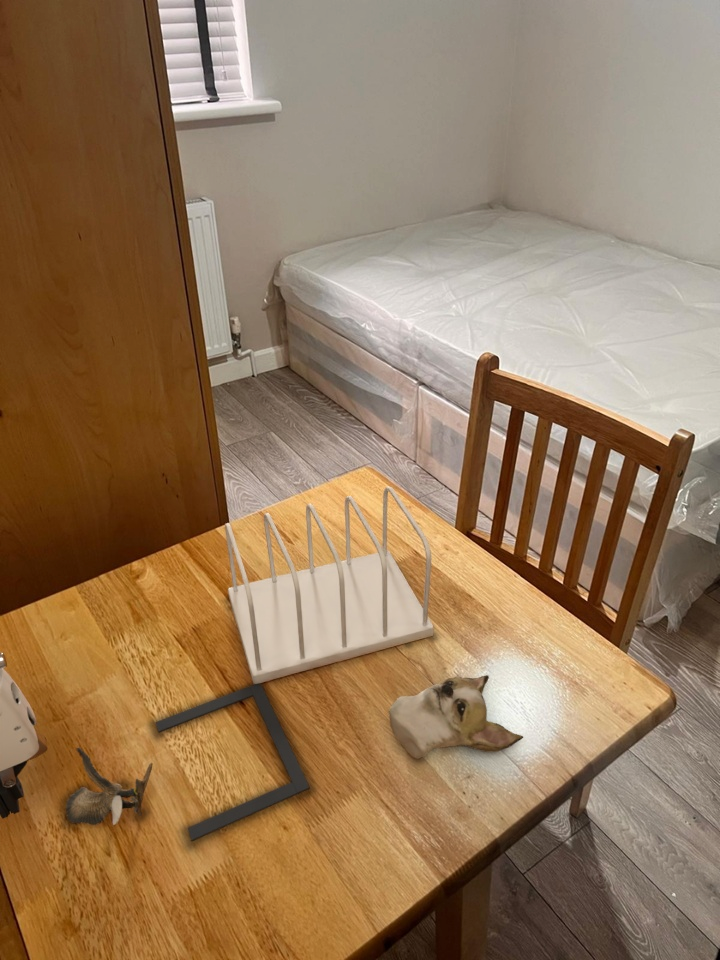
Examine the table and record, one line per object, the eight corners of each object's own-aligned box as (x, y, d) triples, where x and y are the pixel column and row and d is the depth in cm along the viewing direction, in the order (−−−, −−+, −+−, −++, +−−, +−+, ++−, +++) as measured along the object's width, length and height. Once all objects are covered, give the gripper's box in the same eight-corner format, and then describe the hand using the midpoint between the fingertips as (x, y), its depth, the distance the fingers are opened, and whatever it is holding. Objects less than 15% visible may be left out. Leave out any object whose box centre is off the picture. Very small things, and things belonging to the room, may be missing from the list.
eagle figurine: (161, 762, 83) (85, 744, 84) (147, 763, 77) (64, 743, 77) (139, 835, 81) (61, 816, 81) (123, 842, 74) (37, 821, 74)
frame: (191, 841, 77) (191, 840, 77) (155, 723, 89) (155, 722, 89) (309, 788, 82) (309, 787, 81) (260, 683, 94) (260, 681, 94)
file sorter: (253, 686, 93) (239, 596, 84) (228, 598, 107) (214, 512, 98) (434, 636, 99) (438, 547, 91) (388, 559, 113) (388, 475, 104)
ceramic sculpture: (375, 665, 84) (492, 639, 88) (371, 713, 89) (482, 687, 93) (407, 741, 76) (534, 709, 80) (401, 789, 81) (521, 757, 85)
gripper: (29, 626, 69) (80, 745, 79) (-151, 686, 64) (-71, 804, 74) (38, 683, 63) (91, 802, 74) (-159, 754, 58) (-71, 871, 69)
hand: (10, 803), depth 74 cm, fingers closed
